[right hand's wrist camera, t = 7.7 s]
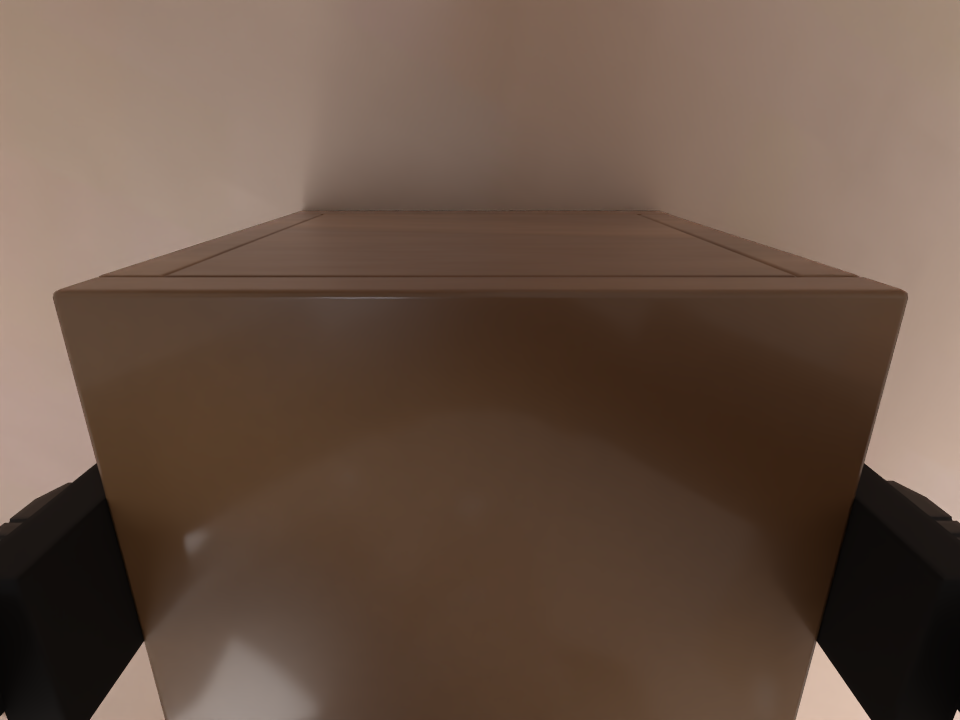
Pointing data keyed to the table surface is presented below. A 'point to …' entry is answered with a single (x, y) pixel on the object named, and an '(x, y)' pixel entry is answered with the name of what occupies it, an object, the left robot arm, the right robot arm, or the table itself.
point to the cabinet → (480, 463)
